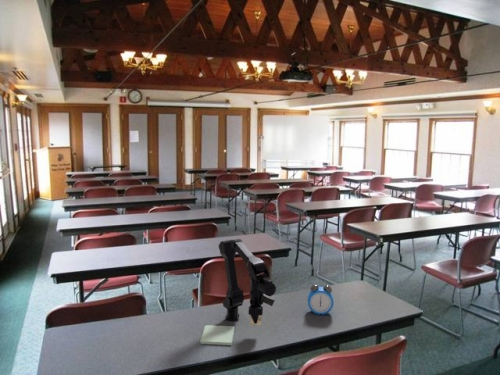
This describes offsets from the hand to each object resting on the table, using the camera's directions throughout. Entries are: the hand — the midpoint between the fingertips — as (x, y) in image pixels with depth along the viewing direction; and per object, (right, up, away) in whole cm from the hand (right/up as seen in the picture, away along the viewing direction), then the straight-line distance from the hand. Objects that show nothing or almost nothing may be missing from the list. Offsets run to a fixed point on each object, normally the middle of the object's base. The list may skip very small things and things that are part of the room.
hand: (255, 320), depth 176 cm
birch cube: (0, -1, 0) cm, 1 cm away
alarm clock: (+34, -4, +24) cm, 42 cm away
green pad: (-17, -7, -1) cm, 19 cm away
